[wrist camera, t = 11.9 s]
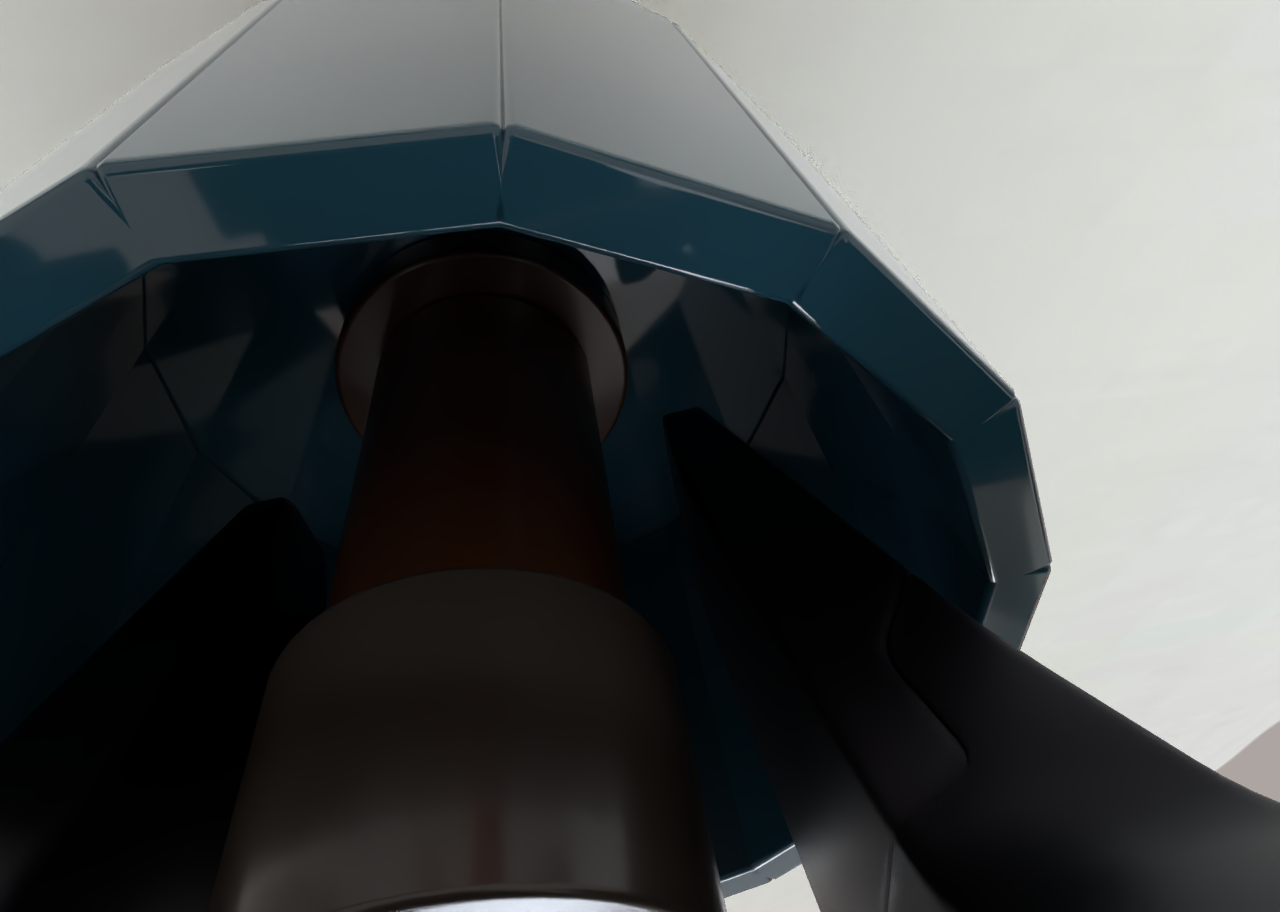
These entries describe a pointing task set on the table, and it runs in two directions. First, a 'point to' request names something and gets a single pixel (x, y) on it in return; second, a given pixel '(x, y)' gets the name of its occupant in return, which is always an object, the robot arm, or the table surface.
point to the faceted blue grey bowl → (449, 204)
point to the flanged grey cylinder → (475, 628)
